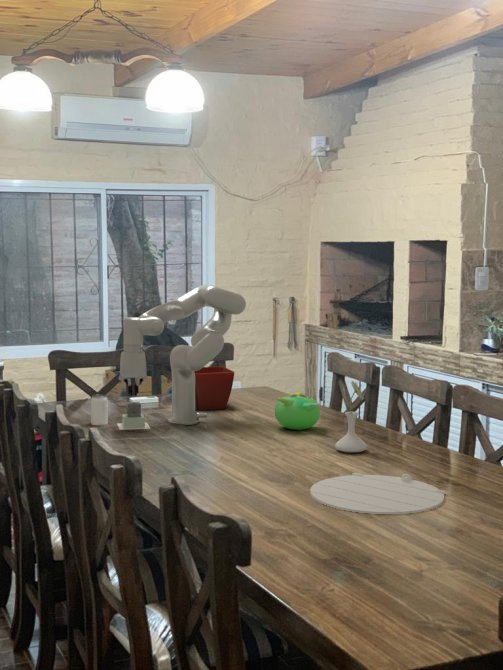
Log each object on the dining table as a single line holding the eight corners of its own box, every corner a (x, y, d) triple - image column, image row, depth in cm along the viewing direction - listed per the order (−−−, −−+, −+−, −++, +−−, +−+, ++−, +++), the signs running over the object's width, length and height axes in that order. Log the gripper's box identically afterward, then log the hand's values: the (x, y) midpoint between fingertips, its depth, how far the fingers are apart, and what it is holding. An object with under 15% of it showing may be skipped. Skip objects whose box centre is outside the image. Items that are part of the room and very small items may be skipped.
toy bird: (320, 425, 365) (321, 389, 364) (319, 434, 348) (320, 397, 347) (275, 424, 367) (276, 388, 365) (272, 433, 350) (273, 395, 349)
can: (106, 427, 357) (105, 397, 356) (89, 427, 357) (89, 397, 356) (109, 424, 364) (108, 394, 362) (92, 423, 364) (92, 394, 363)
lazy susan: (358, 471, 296) (358, 461, 296) (468, 493, 271) (468, 482, 271) (283, 497, 265) (283, 486, 265) (400, 525, 241) (401, 513, 240)
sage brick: (142, 423, 361) (142, 413, 361) (144, 427, 354) (144, 417, 353) (122, 424, 360) (122, 414, 359) (124, 428, 352) (124, 418, 351)
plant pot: (182, 404, 408) (182, 367, 406) (223, 402, 414) (223, 366, 412) (192, 412, 390) (192, 373, 388) (234, 410, 396) (235, 372, 394)
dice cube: (128, 417, 354) (128, 404, 353) (126, 414, 359) (126, 402, 358) (140, 416, 355) (140, 404, 354) (139, 414, 360) (139, 401, 359)
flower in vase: (365, 455, 316) (367, 384, 313) (333, 453, 318) (334, 383, 315) (368, 447, 328) (370, 379, 326) (337, 445, 330) (338, 377, 328)
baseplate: (146, 424, 364) (146, 422, 364) (150, 430, 352) (150, 428, 352) (116, 425, 361) (116, 423, 361) (119, 431, 350) (119, 429, 349)
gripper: (151, 347, 359) (151, 393, 361) (112, 348, 355) (112, 394, 357) (154, 349, 352) (154, 396, 353) (114, 350, 348) (114, 397, 350)
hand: (133, 395), depth 355 cm, fingers closed
